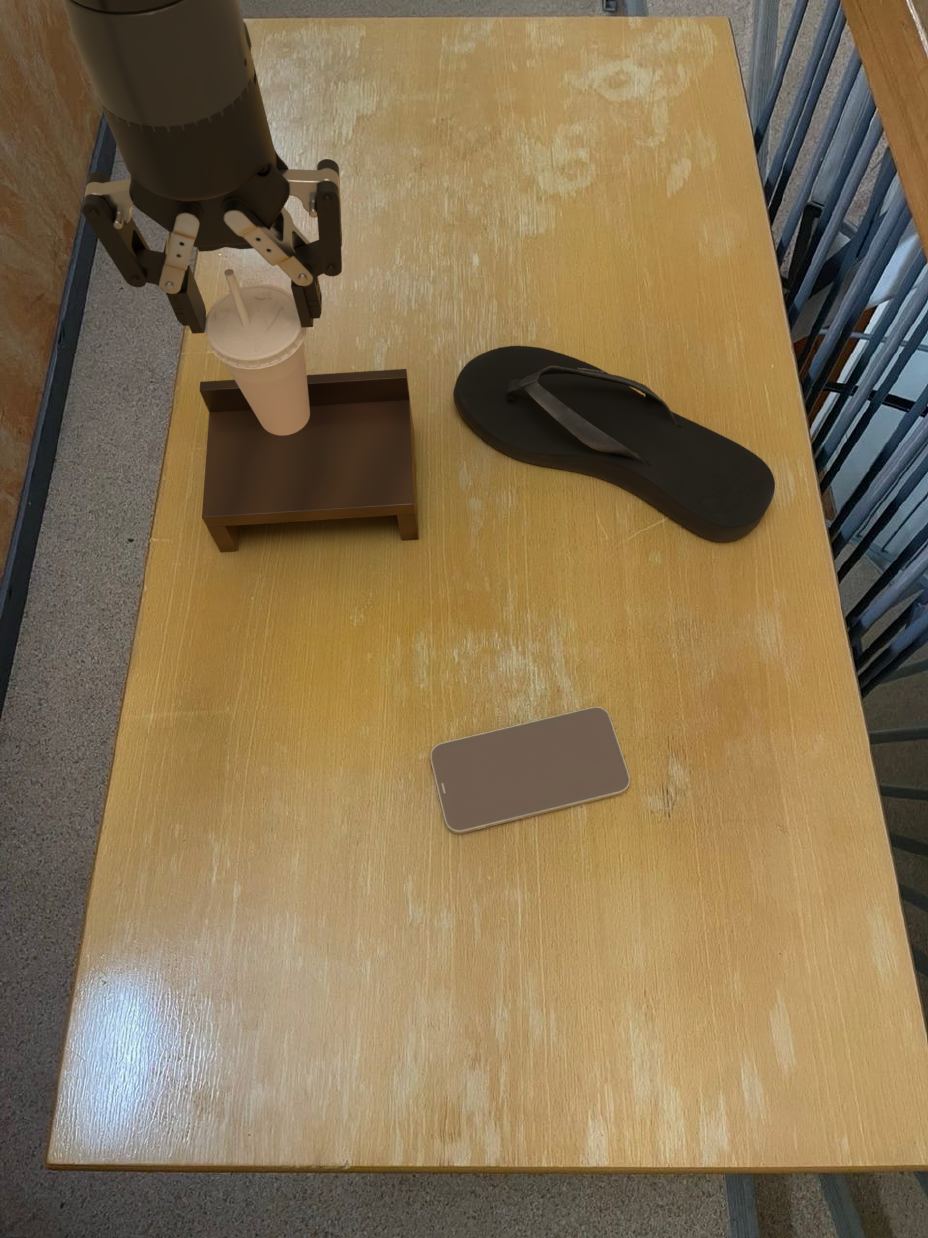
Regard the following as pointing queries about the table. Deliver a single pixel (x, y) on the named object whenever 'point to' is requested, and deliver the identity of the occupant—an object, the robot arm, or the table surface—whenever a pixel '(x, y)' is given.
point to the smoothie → (263, 351)
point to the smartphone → (528, 769)
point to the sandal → (613, 437)
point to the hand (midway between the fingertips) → (254, 319)
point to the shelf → (312, 457)
